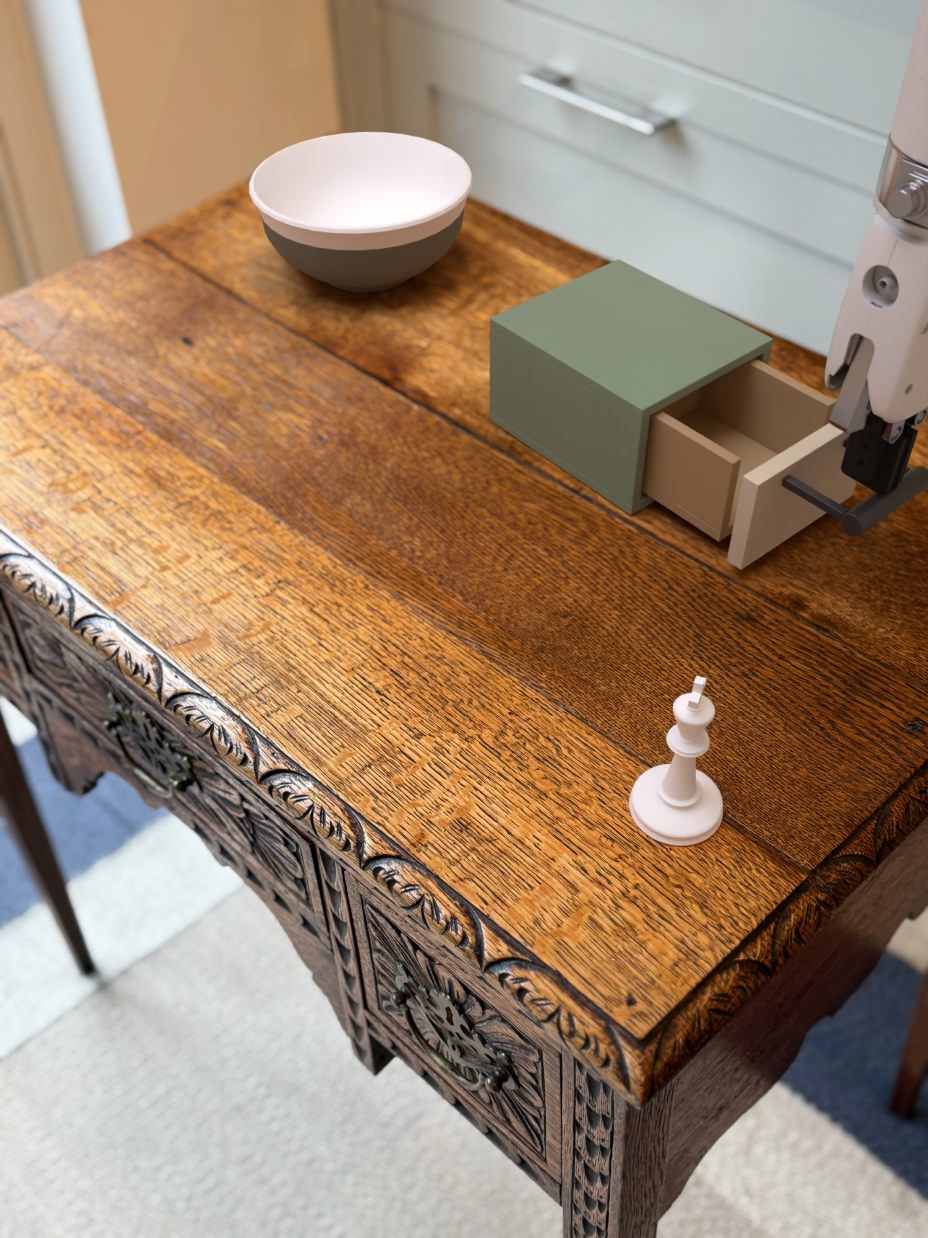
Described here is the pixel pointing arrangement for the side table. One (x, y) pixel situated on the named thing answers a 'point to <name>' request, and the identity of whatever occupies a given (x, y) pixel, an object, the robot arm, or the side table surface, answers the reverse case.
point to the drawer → (758, 462)
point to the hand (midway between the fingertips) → (869, 477)
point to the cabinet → (607, 371)
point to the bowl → (362, 206)
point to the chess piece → (680, 780)
